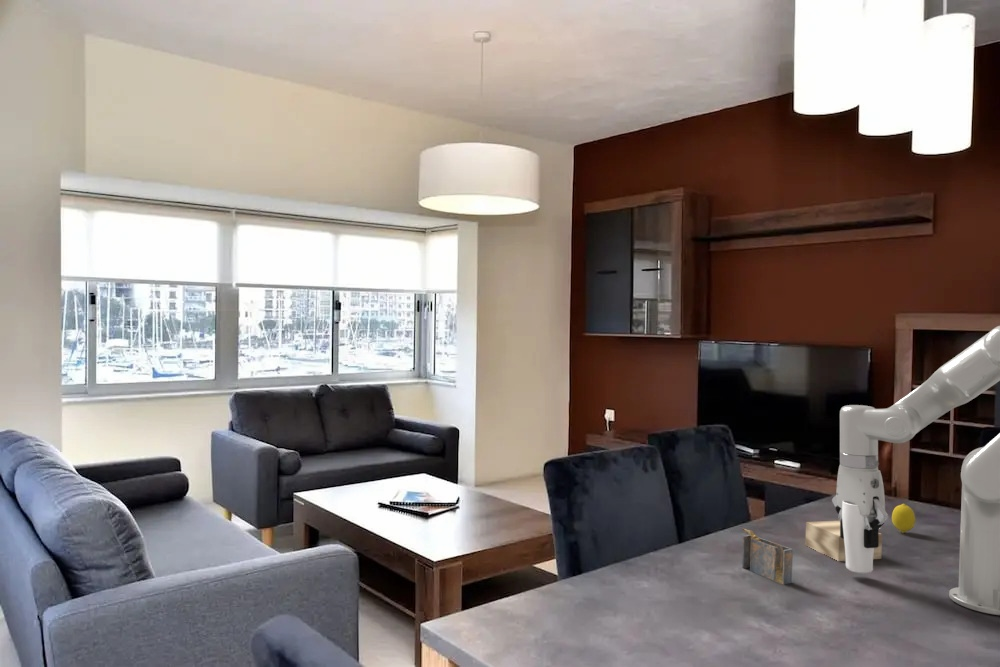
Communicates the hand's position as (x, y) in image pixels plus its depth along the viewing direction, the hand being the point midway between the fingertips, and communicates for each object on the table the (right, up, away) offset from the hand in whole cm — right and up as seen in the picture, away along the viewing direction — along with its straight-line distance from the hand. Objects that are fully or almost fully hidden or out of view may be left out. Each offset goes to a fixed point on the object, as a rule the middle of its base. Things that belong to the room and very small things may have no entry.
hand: (858, 541), depth 155 cm
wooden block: (+5, -8, +18) cm, 21 cm away
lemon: (+31, -9, +37) cm, 49 cm away
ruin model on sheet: (-20, -8, +1) cm, 22 cm away
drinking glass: (0, -6, 0) cm, 6 cm away
